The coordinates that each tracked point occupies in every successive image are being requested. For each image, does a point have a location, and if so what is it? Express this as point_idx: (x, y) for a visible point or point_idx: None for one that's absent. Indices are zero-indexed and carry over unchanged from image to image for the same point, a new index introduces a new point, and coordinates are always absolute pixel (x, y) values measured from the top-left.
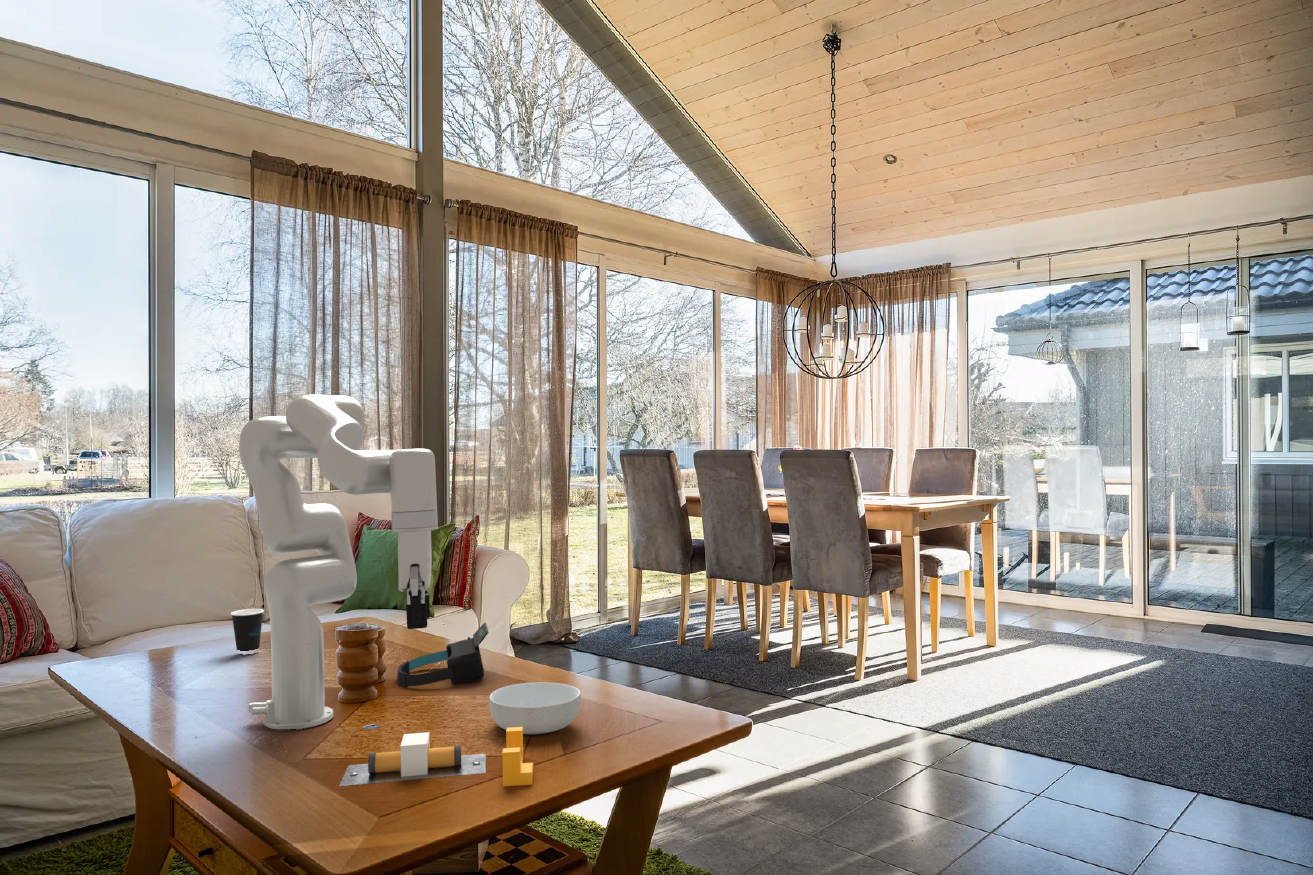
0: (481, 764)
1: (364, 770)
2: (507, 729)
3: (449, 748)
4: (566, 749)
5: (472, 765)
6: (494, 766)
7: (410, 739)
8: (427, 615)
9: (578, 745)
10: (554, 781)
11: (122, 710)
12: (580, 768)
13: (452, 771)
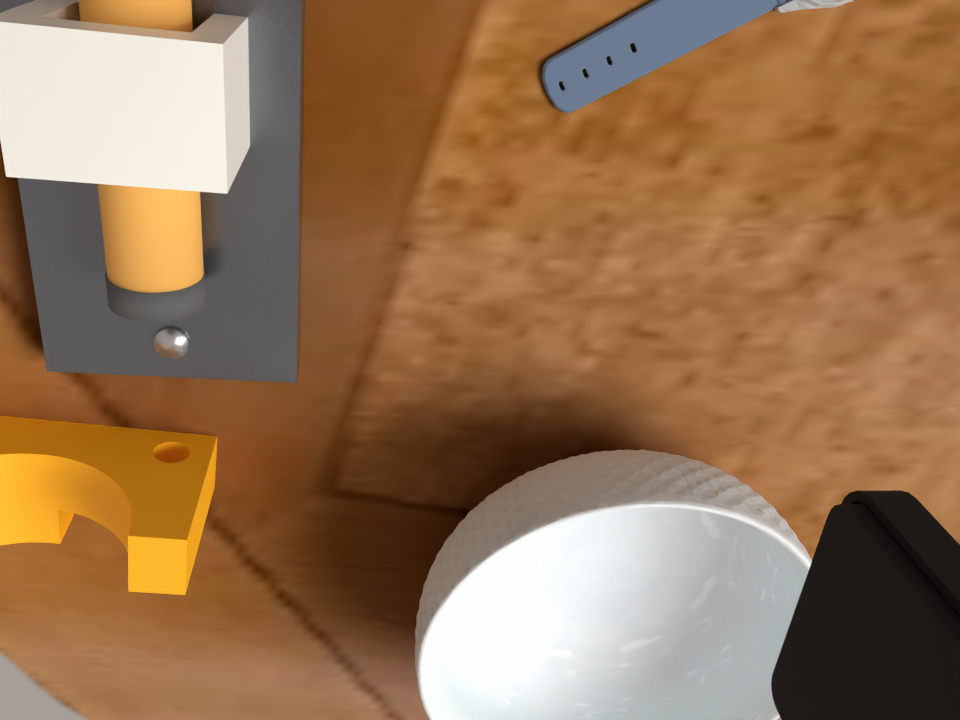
0: (157, 360)
1: None
2: (155, 542)
3: (132, 268)
4: (345, 616)
5: (150, 326)
6: (224, 392)
7: (107, 83)
8: (787, 704)
9: (374, 649)
10: (18, 562)
11: None
12: (136, 637)
13: (87, 243)
